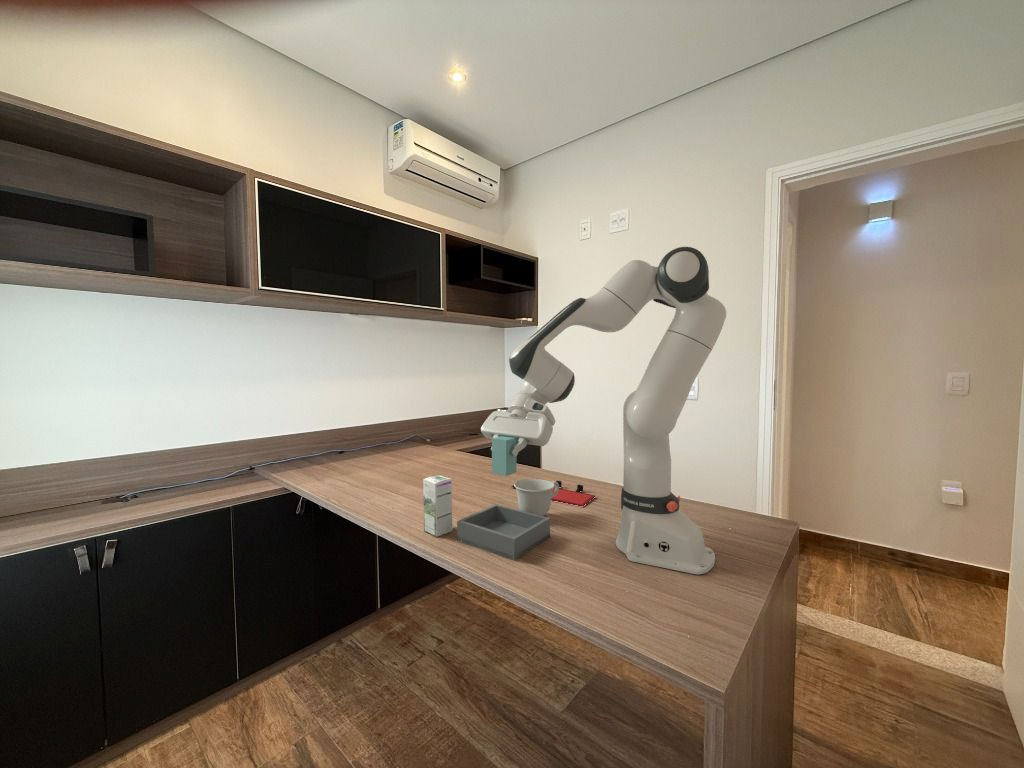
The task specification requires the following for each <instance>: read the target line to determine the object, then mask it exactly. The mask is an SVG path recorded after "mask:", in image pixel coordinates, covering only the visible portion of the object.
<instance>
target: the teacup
mask: <svg viewBox="0 0 1024 768" xmlns="http://www.w3.org/2000/svg"><path fill="white" fill-rule="evenodd" d="M556 481H557V480H553V481H549V480H546V479H542V478H541V479H539V478H527V479H526V478H525V479H520V480H518V481H516V482H514V484H513V485H514V487H513V488H515V490H516V499H517V505H518V510H521V511H525V512H529V513H532V514H536V515H540V516H544V517H545V515H547V513H548V512H549V511H550V508H551V504H552V501H551V499H552V498H553V497H554V496H556V495H557V493H558V491H559V484H558V483H557V482H556ZM554 487H555V490H554V492H553V493H552V490H553V488H554Z"/></svg>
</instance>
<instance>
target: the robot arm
mask: <svg viewBox="0 0 1024 768" xmlns="http://www.w3.org/2000/svg"><path fill="white" fill-rule="evenodd" d="M660 260H661V261H660V262H659V264H658V266H654V265H651V264H650V263H648V262H647V261H644V260H641V259H633V260H631V261H628V262H627V263H626V264H625V265H623V267H621V268H620V269H619V270H618V271H617V272H615V274H613V276H611V278H610V279H609V280H608V281H607V282H606V283H605V284H604V285H603V286H602V288H601V289H600V290H598V291H597V292H596V293H595V294H593V295H592V296H590V297H586V298H583V297H579V298H577V299H575V300H573V301H572V302H570V303H568V305H567V306H565V307H563V309H561V310H559V312H557V314H555V315H554V316H553V317H552V318H551V319H549V320H548V321H547V322H546V323H545V324H544V325H543V326H542V327H541V328H539V329H538V330H537V331H536V332H535V333H534V334H533V335H531V336H530V337H529V338H527V339H526V340H524V341H523V342H522V343H520V344H519V345H518V346H516V347H515V348H514V350H513V351H512V353H510V357H509V358H508V362H509V363H508V364H509V367H510V371H511V373H512V374H513V375H515V376H516V377H518V378H519V379H521V380H523V382H522V383H521V386H520V388H519V389H520V390H519V391H518V392H517V393H516V394H515V396H514V398H513V399H512V401H511V402H510V405H509V406H508V408H507V409H502V408H499V409H497V410H494V411H492V412H491V413H490V414H489V415H488V416H487V418H486V419H485V420H484V422H483V424H482V425H481V427H480V432H481V433H482V435H483V436H484V437H485V438H486V439H491V440H492V438H495V437H500V436H507V437H515V438H517V445H516V446H515V447H511V450H510V451H509V454H510V455H511V456H517V457H518V454H519V452H521V451H522V450H524V449H525V448H526V447H527V445H531V446H532V445H533V446H537V447H538V446H539V447H544V446H547V444H548V443H549V441H550V439H551V437H552V434H553V429H554V426H555V424H556V419H555V417H554V414H553V413H552V411H551V409H550V408H549V406H548V405H547V404H552V403H553V404H554V403H558V402H562V401H564V400H565V399H567V398H568V396H569V395H570V393H571V392H572V390H573V388H574V386H575V383H576V382H575V381H576V379H575V377H576V376H575V373H574V372H573V371H572V370H571V369H570V368H569V367H568V366H566V365H565V364H564V363H563V362H562V361H560V360H558V359H557V358H556V357H554V356H553V354H551V353H550V352H548V351H547V350H546V348H545V347H546V346H548V345H549V344H550V342H552V341H553V340H554V339H556V337H558V336H559V335H560V334H562V332H564V331H565V330H567V328H570V327H572V326H581V327H586V328H588V329H592V330H594V331H598V332H602V333H616V332H619V331H622V330H623V329H625V328H626V327H627V326H628V325H629V324H630V323H631V322H632V321H633V319H635V317H636V316H637V315H638V314H639V313H640V311H641V310H642V309H643V308H644V307H645V306H646V305H647V304H648V303H649V302H651V301H653V302H655V303H658V304H661V305H664V306H666V307H670V308H673V309H675V313H674V316H673V318H672V320H671V322H670V323H669V326H668V327H667V329H666V331H665V333H664V334H663V336H662V338H661V339H660V342H659V344H658V346H657V347H656V349H655V351H654V353H653V354H652V357H651V358H650V359H649V363H648V365H647V367H646V368H645V369H646V370H645V371H644V374H643V375H642V378H641V380H640V382H639V384H638V387H637V388H636V390H634V391H633V392H631V393H630V394H629V395H628V396H627V397H626V399H625V401H624V403H623V408H622V409H623V411H622V413H623V417H622V418H623V419H622V421H623V423H622V424H623V427H622V428H623V431H622V433H623V437H622V438H623V480H622V481H623V486H622V488H621V493H620V510H621V518H620V525H619V530H618V534H617V536H616V540H615V546H616V548H617V549H618V550H619V551H620V552H622V553H623V554H624V555H625V556H626V558H627V559H628V560H629V561H630V562H632V563H633V562H634V563H639V564H645V565H648V566H653V567H659V568H664V569H668V570H673V571H678V572H683V573H686V574H693V575H703V574H706V573H708V572H710V570H712V569H713V568H714V567H715V564H716V555H715V552H714V550H713V549H712V548H711V547H708V546H706V544H705V539H704V535H703V531H702V530H701V528H700V526H699V525H698V524H696V523H695V522H694V521H692V520H691V519H690V518H689V517H688V516H687V515H686V514H684V513H683V512H682V511H681V510H680V502H681V496H680V495H678V496H676V495H675V494H673V493H672V491H671V489H672V488H671V487H672V485H671V484H672V458H671V457H672V456H671V450H670V449H671V446H670V433H672V432H673V430H674V429H675V428H676V424H677V422H678V419H679V417H680V415H681V413H682V411H683V408H684V406H685V404H686V402H687V400H688V397H689V395H690V392H691V389H692V387H693V384H694V382H695V380H696V378H697V377H698V375H699V373H700V371H701V370H702V368H703V367H704V365H705V363H706V361H707V359H708V358H709V356H710V353H711V352H712V350H713V349H714V346H716V343H717V341H718V339H719V338H720V337H719V336H720V334H721V332H722V329H723V327H724V325H725V321H726V319H727V309H726V307H725V305H724V304H723V303H722V302H721V301H720V300H719V299H717V298H715V297H714V296H711V295H709V294H708V292H709V290H710V278H709V277H710V276H709V275H710V272H709V271H710V270H709V264H708V261H707V259H706V256H705V255H704V254H703V253H702V252H701V251H700V250H699V249H697V248H695V247H692V246H679V247H676V248H673V249H672V250H669V252H667V253H666V254H665V255H664V257H662V259H660ZM490 451H491V452H492V446H491V448H490Z"/></svg>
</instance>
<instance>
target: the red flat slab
mask: <svg viewBox="0 0 1024 768" xmlns="http://www.w3.org/2000/svg"><path fill="white" fill-rule="evenodd" d="M555 481H556V482H557V483H558V484H559V487H561V489H560V488H559V491H558V493H557V495H556V496H554V497H553V498H552V499H551V500H552V501H551V502H553V501H558V502H563V503H568V504H573V505H578V506H584V505H585V504H587V503H588V502H589V501H590V500H592V499H593V498H594V497H595V496H596V497H597V495H595V494H590V493H584V485H582V484H577V485H576V486H577V489H575V490H570V489H569V490H568V489H563V488H562V482H563V481H561V480H555ZM511 488H515V487H514V484H513V485H511ZM554 490H555V487H554V488H553V490H552V493H553V492H554ZM580 491H583V492H580ZM592 501H593V500H592ZM558 502H557V503H558ZM563 503H562V504H563ZM568 504H567V505H568ZM588 504H589V503H588ZM588 504H587V505H588ZM573 505H572V506H573ZM578 506H577V507H578Z"/></svg>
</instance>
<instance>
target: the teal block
mask: <svg viewBox="0 0 1024 768" xmlns="http://www.w3.org/2000/svg"><path fill="white" fill-rule="evenodd" d="M517 444H518V443H517V438H515V437H507V436H500V437H495V438H492V439H491V447H492V451H491V474H494V475H498V476H504V477H507V476H508V477H509V476H510V475H513V474H515V473H517V462H518V461H517V457H518V455H517V456H511V455H510V454H509V451H510V450H511V447H515V446H516V445H517Z"/></svg>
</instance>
